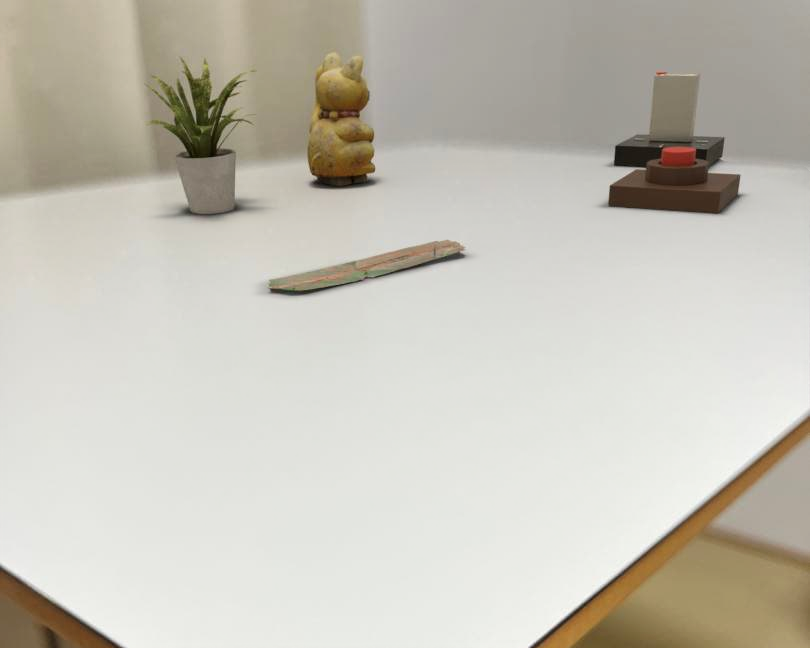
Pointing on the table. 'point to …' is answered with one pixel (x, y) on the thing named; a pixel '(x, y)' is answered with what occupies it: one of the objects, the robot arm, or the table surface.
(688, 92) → the white upright block
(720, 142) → the dial panel
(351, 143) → the decorative figurine
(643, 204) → the switch block
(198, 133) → the house plant
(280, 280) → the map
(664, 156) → the power button
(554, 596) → the table surface
